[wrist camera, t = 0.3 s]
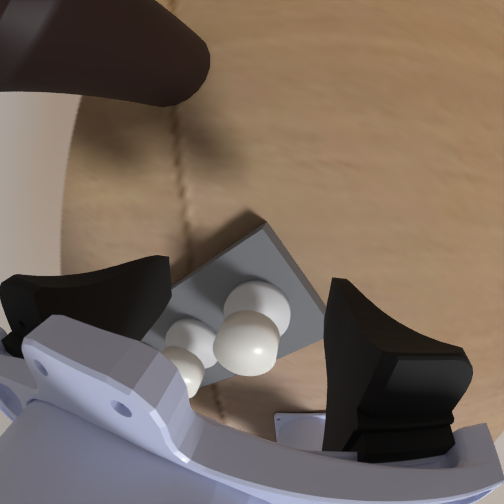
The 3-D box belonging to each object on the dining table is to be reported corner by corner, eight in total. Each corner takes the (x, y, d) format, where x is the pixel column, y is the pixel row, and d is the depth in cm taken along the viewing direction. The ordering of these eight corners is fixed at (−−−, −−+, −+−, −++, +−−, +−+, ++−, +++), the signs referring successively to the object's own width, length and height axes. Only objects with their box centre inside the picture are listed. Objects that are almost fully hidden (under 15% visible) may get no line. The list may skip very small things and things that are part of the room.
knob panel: (167, 388, 31) (157, 405, 28) (110, 328, 29) (96, 343, 26) (334, 318, 23) (336, 340, 20) (266, 221, 21) (260, 232, 18)
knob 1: (182, 386, 22) (173, 402, 20) (150, 354, 21) (139, 369, 19) (215, 375, 21) (207, 392, 19) (181, 339, 20) (170, 356, 18)
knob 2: (244, 363, 20) (238, 382, 18) (209, 324, 19) (200, 342, 17) (291, 343, 18) (288, 363, 16) (256, 300, 17) (250, 317, 16)
